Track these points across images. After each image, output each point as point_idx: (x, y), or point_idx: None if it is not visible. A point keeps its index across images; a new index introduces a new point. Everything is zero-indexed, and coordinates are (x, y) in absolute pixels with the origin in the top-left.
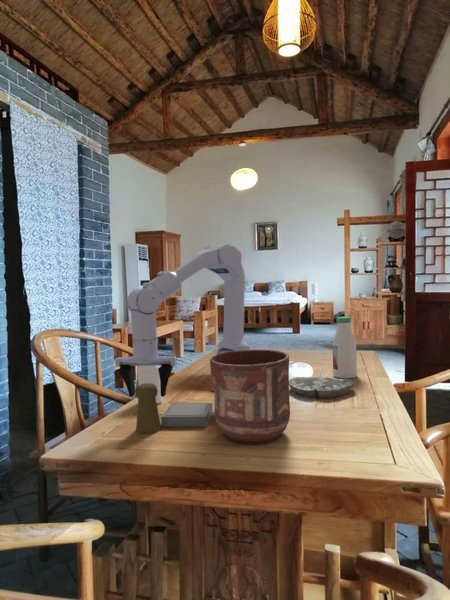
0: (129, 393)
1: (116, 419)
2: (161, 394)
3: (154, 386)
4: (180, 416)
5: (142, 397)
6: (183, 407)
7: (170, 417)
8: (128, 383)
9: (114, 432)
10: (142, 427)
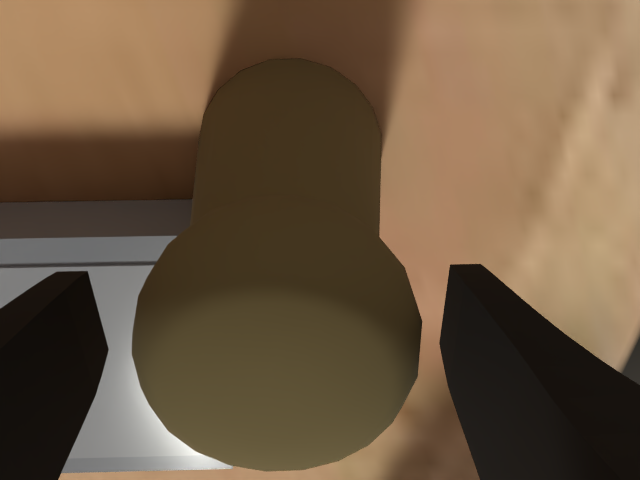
0: (494, 279)
1: (564, 323)
2: (65, 280)
3: (143, 373)
4: (45, 242)
5: (290, 195)
6: (112, 404)
7: (125, 232)
8: (550, 363)
9: (537, 91)
10: (308, 79)
